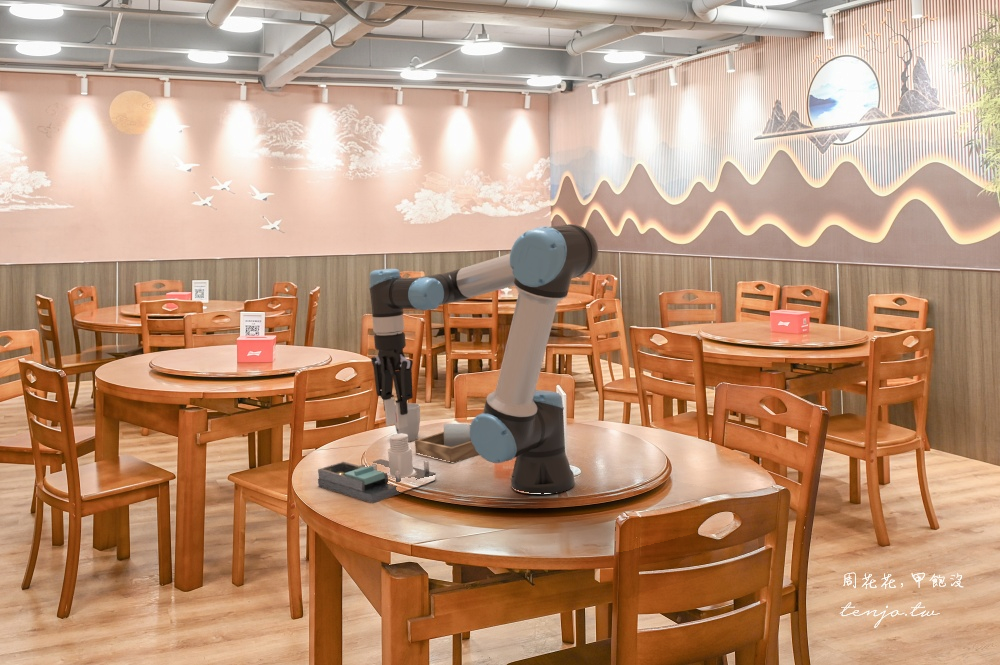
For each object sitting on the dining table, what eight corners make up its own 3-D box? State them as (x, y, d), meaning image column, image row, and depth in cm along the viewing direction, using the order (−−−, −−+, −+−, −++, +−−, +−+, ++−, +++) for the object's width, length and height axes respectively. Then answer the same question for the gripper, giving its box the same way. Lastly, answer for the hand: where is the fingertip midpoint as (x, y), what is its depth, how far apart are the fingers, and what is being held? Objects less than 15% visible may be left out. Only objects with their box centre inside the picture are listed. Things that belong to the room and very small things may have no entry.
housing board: (436, 480, 225) (434, 461, 224) (372, 503, 211) (370, 482, 210) (381, 466, 241) (379, 448, 240) (318, 486, 227) (316, 467, 226)
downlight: (388, 470, 229) (385, 432, 227) (416, 468, 229) (413, 430, 228) (386, 481, 221) (383, 442, 220) (415, 479, 222) (411, 440, 220)
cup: (392, 437, 269) (389, 405, 268) (419, 434, 271) (416, 401, 270) (397, 444, 261) (395, 410, 260) (425, 440, 264) (422, 407, 262)
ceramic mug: (474, 452, 248) (472, 425, 247) (444, 454, 248) (442, 427, 247) (472, 442, 259) (470, 416, 258) (444, 445, 258) (442, 418, 257)
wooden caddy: (497, 447, 251) (496, 433, 251) (452, 463, 239) (451, 448, 239) (460, 440, 262) (459, 426, 261) (415, 454, 250) (414, 440, 249)
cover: (384, 478, 219) (383, 468, 218) (364, 485, 214) (364, 474, 214) (364, 472, 224) (363, 463, 224) (344, 479, 220) (344, 469, 220)
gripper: (423, 332, 217) (430, 426, 220) (380, 328, 229) (387, 418, 232) (399, 337, 212) (407, 433, 215) (356, 332, 223) (364, 424, 227)
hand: (396, 425), depth 224 cm, fingers open, 4 cm apart
